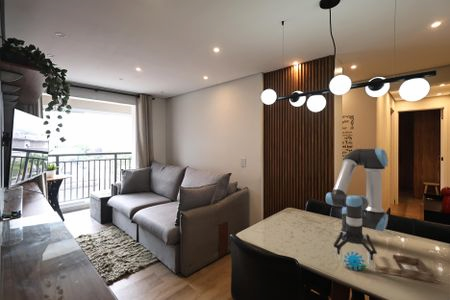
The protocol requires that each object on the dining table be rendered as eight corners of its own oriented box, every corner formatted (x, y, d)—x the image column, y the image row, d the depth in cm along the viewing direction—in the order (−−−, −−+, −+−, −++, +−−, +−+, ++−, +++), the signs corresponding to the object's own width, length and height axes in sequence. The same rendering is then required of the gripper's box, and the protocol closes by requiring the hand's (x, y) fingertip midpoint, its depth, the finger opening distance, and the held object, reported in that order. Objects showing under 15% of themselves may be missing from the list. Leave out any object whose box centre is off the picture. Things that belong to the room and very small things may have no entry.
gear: (340, 263, 119) (347, 247, 123) (342, 267, 123) (349, 251, 126) (362, 274, 111) (369, 257, 114) (364, 278, 114) (371, 262, 117)
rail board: (376, 272, 113) (376, 264, 113) (370, 257, 128) (370, 250, 128) (433, 282, 104) (433, 274, 104) (419, 265, 118) (419, 258, 118)
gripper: (329, 223, 119) (329, 261, 119) (383, 230, 108) (383, 271, 108) (328, 219, 125) (329, 255, 126) (379, 225, 115) (380, 264, 115)
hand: (354, 262), depth 117 cm, fingers open, 13 cm apart
